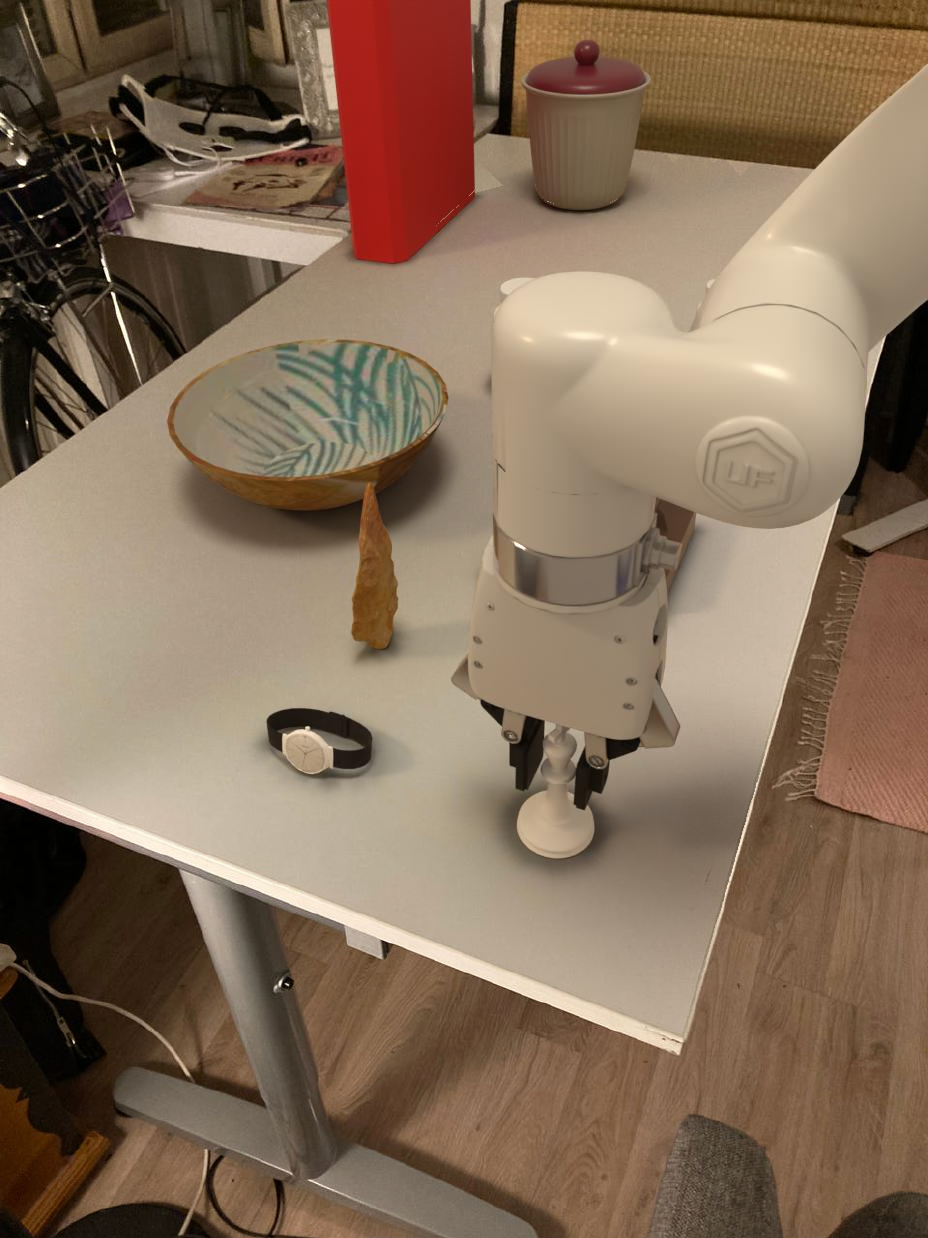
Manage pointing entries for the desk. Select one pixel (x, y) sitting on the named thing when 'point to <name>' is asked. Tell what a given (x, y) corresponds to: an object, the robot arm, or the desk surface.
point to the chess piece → (556, 804)
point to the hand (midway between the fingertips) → (558, 780)
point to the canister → (583, 126)
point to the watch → (317, 739)
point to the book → (403, 119)
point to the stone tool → (374, 579)
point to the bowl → (309, 421)
